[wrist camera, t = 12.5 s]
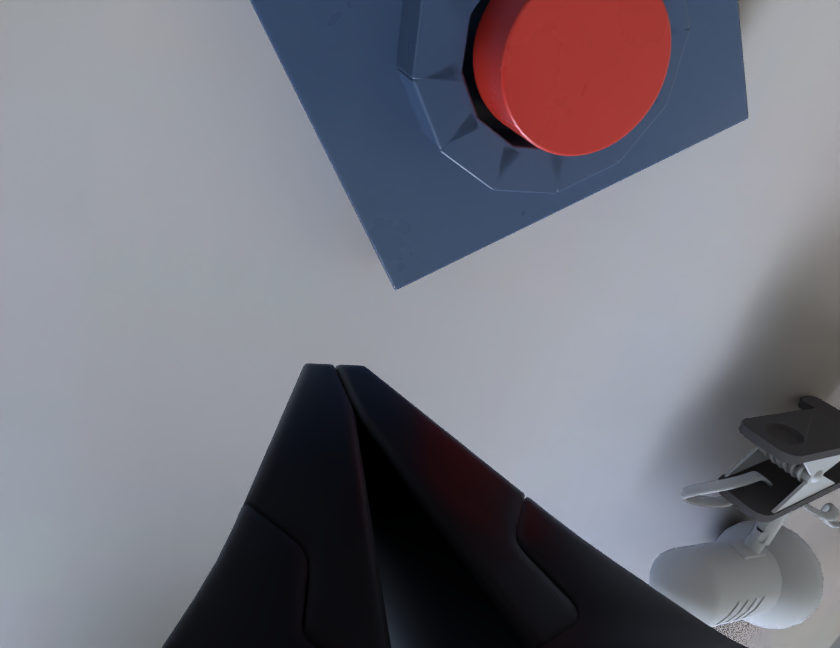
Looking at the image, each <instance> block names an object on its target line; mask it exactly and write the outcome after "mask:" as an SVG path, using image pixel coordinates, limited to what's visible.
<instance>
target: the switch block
mask: <svg viewBox="0 0 840 648" xmlns="http://www.w3.org/2000/svg"><path fill="white" fill-rule="evenodd" d="M250 1H251V3H252V5H253V7H254V9H255V11H256V13H257V15H258V17H259V19H260V21H261V23H262V25H263V27H264V29H265V31H266V33H267V35H268V37H269V39H270V41H271V43H272V45H273V47H274V49H275V51H276V53H277V55H278V57H279V59H280V61H281V63H282V65H283V67H284V69H285V71H286V73H287V75H288V77H289V79H290V81H291V83H292V85H293V87H294V89H295V91H296V93H297V95H298V97H299V99H300V101H301V103H302V105H303V107H304V109H305V111H306V113H307V115H308V117H309V119H310V121H311V123H312V125H313V127H314V129H315V131H316V133H317V135H318V137H319V139H320V141H321V143H322V145H323V147H324V149H325V151H326V153H327V155H328V157H329V159H330V161H331V163H332V165H333V167H334V169H335V171H336V173H337V175H338V177H339V179H340V181H341V183H342V185H343V187H344V189H345V191H346V193H347V195H348V197H349V199H350V201H351V203H352V205H353V207H354V209H355V211H356V213H357V215H358V217H359V219H360V221H361V223H362V225H363V227H364V229H365V231H366V233H367V235H368V237H369V239H370V241H371V243H372V245H373V247H374V249H375V251H376V253H377V255H378V257H379V259H380V261H381V263H382V265H383V267H384V269H385V271H386V273H387V275H388V277H389V279H390V281H391V283H392V285H393V287H394V289H395V290H397V289H399V288H401V287H403V286H405V285H407V284H409V283H412V282H414V281H416V280H418V279H420V278H422V277H424V276H426V275H428V274H430V273H432V272H434V271H436V270H438V269H440V268H442V267H444V266H446V265H448V264H450V263H453V262H455V261H457V260H459V259H461V258H463V257H465V256H467V255H469V254H471V253H473V252H475V251H477V250H479V249H481V248H483V247H485V246H487V245H489V244H491V243H494V242H496V241H498V240H500V239H502V238H504V237H506V236H508V235H510V234H512V233H514V232H516V231H518V230H520V229H522V228H524V227H526V226H528V225H530V224H532V223H534V222H537V221H539V220H541V219H543V218H545V217H547V216H549V215H551V214H553V213H555V212H557V211H559V210H561V209H563V208H565V207H567V206H569V205H571V204H573V203H575V202H578V201H580V200H582V199H584V198H586V197H588V196H590V195H592V194H594V193H596V192H598V191H600V190H602V189H604V188H606V187H608V186H610V185H612V184H614V183H616V182H619V181H621V180H623V179H625V178H627V177H629V176H631V175H633V174H635V173H637V172H639V171H641V170H643V169H645V168H647V167H649V166H651V165H653V164H655V163H657V162H660V161H662V160H664V159H666V158H668V157H670V156H672V155H674V154H676V153H678V152H680V151H682V150H684V149H686V148H688V147H690V146H692V145H694V144H696V143H698V142H700V141H703V140H705V139H707V138H709V137H711V136H713V135H715V134H717V133H719V132H721V131H723V130H725V129H727V128H729V127H731V126H733V125H735V124H737V123H739V122H741V121H744V120H746V119H747V118H748V106H747V95H746V84H745V73H744V62H743V51H742V40H741V29H740V18H739V6H738V0H663V2H664V4H665V7H666V10H667V12H668V16H669V21H670V26H671V37H672V38H671V55H670V62H669V66H668V70H667V74H666V77H665V80H664V83H663V86H662V88H661V90H660V92H659V94H658V96H657V98H656V100H655V102H654V103H653V105H652V107H651V108H650V110H649V111H648V112H647V114H646V115H645V116H644V118H643V119H642V120H641V121H640V122H639V123H638V124H637V126H636V127H635V128H634V129H632V130H631V131H630V132H629V133H628V134H627V135H626V136H624V137H623V138H621V139H620V140H619V141H617V142H616V143H614V144H612V145H610V146H608V147H606V148H604V149H602V150H599V151H597V152H593V153H590V154H586V155H579V156H562V155H555V154H552V153H549V152H545V151H543V150H541V149H539V148H537V147H536V146H534V145H533V144H531V143H530V142H528V141H527V140H526V139H524V138H523V137H521V136H520V135H518V134H517V133H516V132H514V131H513V130H511V129H510V128H508V127H507V126H506V125H504V124H503V123H501V122H500V121H499V120H498V119H497V118H496V117H494V116H493V115H492V113H491V112H490V111H489V110H488V108H487V107H486V105H485V104H484V102H483V100H482V98H481V96H480V94H479V91H478V89H477V85H476V82H475V78H474V71H473V47H474V40H475V36H476V31H477V28H478V25H479V22H480V19H481V17H482V15H483V13H484V10H485V8H486V6H487V5H488V3H489V2H490V0H250Z"/></svg>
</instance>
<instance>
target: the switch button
mask: <svg viewBox="0 0 840 648" xmlns="http://www.w3.org/2000/svg"><path fill="white" fill-rule="evenodd" d="M671 38H672V37H671V26H670V21H669V16H668V12H667V10H666V7H665V4H664V2H663V0H490V2H489V3H488V5H487V6H486V8H485V10H484V13H483V15H482V17H481V19H480V22H479V25H478V28H477V31H476V36H475V40H474V47H473V71H474V78H475V82H476V85H477V89H478V91H479V94H480V96H481V98H482V100H483V102H484V104H485V105H486V107H487V108H488V110H489V111H490V112H491V113H492V115H493V116H494V117H496V118H497V119H498V120H499V121H500V122H501V123H503V124H504V125H506V126H507V127H508V128H510V129H511V130H513V131H514V132H516V133H517V134H518V135H520V136H521V137H523V138H524V139H526V140H527V141H528V142H530V143H531V144H533V145H534V146H536V147H537V148H539V149H541V150H543V151H545V152H549V153H552V154H555V155H562V156H579V155H586V154H590V153H593V152H597V151H599V150H602V149H604V148H606V147H608V146H610V145H612V144H614V143H616V142H617V141H619V140H620V139H621V138H623V137H624V136H626V135H627V134H628V133H629V132H630V131H631V130H632V129H634V128H635V127H636V126H637V124H638V123H639V122H640V121H641V120H642V119H643V118H644V116H645V115H646V114H647V112H648V111H649V110H650V108H651V107H652V105H653V103H654V102H655V100H656V98H657V96H658V94H659V92H660V90H661V88H662V86H663V83H664V80H665V77H666V74H667V70H668V66H669V62H670V55H671Z"/></svg>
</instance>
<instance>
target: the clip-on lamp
mask: <svg viewBox="0 0 840 648" xmlns="http://www.w3.org/2000/svg"><path fill="white" fill-rule="evenodd" d="M798 407H799V408H800V409H802V410H800V411H793V412H786V413H779V414H773V415H766V416H759V417H752V418H746V419H744V420H743V421H742V423H741V425H740V427H739V431H740V433H741V434H742V435H743V436H744V437H745V438H747V439H748V440H750V441H751V442H753V443H754V444H756V447H755V448H754V449H753V450H752V451H750V452H749V453H748V454H747V455H746V456H745V457H744V458H743V459H742V460H740V461H739V462H738V463H737V464H736V465H735V466H734V467H733V468H732V469H730V470H729V471H728V472H727V473H726V474H724V475H722V476H721V477H720V478H719V479H718V480H716V481H711V482H705V483H700V484H695V485H691V486H687V487H685V488H683V489H682V492H681V494H682V500H683V501H685V502H687V503H690V504H694V505H698V506H704V507H715V508H721V507H727V506H730V505H732V504H733V505H734V506H735V507H737V508H738V509H739V510H740V511H742V512H743V513H744V514H745V515H747V516H748V517H750V518H752V519H753V520H752V521H743V522H740V523H738V524H735V525H733V526H731V527H729V528H727V529H726V530H725V531H724V532H723V533H722V534H721V535H720V536H719V537H718V538H717V539H716V541H715V542H710V543H704V544H698V545H691V546H685V547H678V548H673V549H670V550H668V551H665V552H663V553H661V554H660V555H659V556H658V557H657V558H656V560H655V561H654V563H653V565H652V568H651V570H650V576H649V585H650V586H651V587H653V588H654V589H655V590H657V591H658V592H660V593H661V594H663V595H664V596H666V597H667V598H669V599H670V600H672V601H673V602H675V603H676V604H678V605H679V606H680V607H682V608H683V609H685V610H686V611H688V612H689V613H691V614H692V615H694V616H695V617H697V618H698V619H700V620H701V621H703V622H704V623H706V624H707V625H708V626H710V627H714V626H718V625H723V624H727V623H731V622H735V621H739V620H744V621H746V622H749V623H751V624H754V625H756V626H759V627H762V628H775V629H783V628H787V627H791V626H794V625H797V624H800V623H802V622H803V621H804V620H806V619H807V618H808V617H809V616H810V615H811V614H812V613H813V612H815V610H816V609H817V606H818V604H819V602H820V600H821V598H822V595H823V580H824V578H823V574H822V570H821V566H820V562H819V561H818V559H817V557H816V555H815V554H814V552H813V550H812V549H811V547H810V546H809V545H808V544H807V543H806V542H805V541H804V540H803V539H802V538H801V537H800V536H799V535H798V534H796V533H795V532H793V531H791V530H789V529H788V528H786V527H784V526H783V523H784V522H785V520H786V519H787V517H788V516H789V514H790V513H791V511H793V510H795V509H797V508H799V507H802V508H804V509H805V510H807V511H808V512H810V513H812V514H813V515H815V516H817V517H819V518H821V520H822V521H823V522H824V523H826V524H827V525H829V526H831V527H834V528H840V522H837V521H834V520H836V519H838V517H839V514H840V513H839V509H838V508H837V507H836V506H834V505H833V504H831V503H827V504H825V505H824V506H823V507H822V509H821V511H820V510H818V509H816V508H814V507H813V506H811V505H810V504H808V503H810V502H812V501H814V500H816V499H818V498H820V497H822V496H824V495H826V494H828V493H830V492H832V491H834V490H836V489H838V488H840V410H838V409H836V408H835V407H833V406H831V405H830V404H828V403H826V402H824V401H823V400H821V399H819V398H817V397H814V396H807V397H802V398H801V399H800V401H799V403H798ZM715 492H719V493H720V494H721V495H722V496H719V497H705V496H699V495H704V494H710V493H715Z"/></svg>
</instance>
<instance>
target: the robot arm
mask: <svg viewBox="0 0 840 648" xmlns="http://www.w3.org/2000/svg"><path fill="white" fill-rule="evenodd" d="M524 497H525V495H524V493H523V492H521V491H520V490H519V489H518V488H516V487H515V486H514V485H513V484H511V483H510V482H509V481H508V480H506V479H505V478H504V477H503V476H501V475H500V474H499V473H498V472H496V471H495V470H494V469H493V468H491V467H490V466H489V465H488V464H486V463H485V462H484V461H483V460H481V459H480V458H479V457H478V456H476V455H475V454H474V453H473V452H471V451H470V450H469V449H468V448H466V447H465V446H464V445H463V444H461V443H460V442H459V441H458V440H456V439H455V438H454V437H453V436H451V435H450V434H449V433H448V432H446V431H445V430H444V429H443V428H441V427H440V426H439V425H438V424H436V423H435V422H434V421H433V420H431V419H430V418H429V417H428V416H426V415H425V414H424V413H423V412H421V411H420V410H419V409H418V408H416V407H415V406H414V405H413V404H411V403H410V402H409V401H408V400H406V399H405V398H404V397H403V396H401V395H400V394H399V393H398V392H396V391H395V390H394V389H393V388H391V387H390V386H389V385H388V384H386V383H385V382H384V381H383V380H381V379H380V378H379V377H378V376H376V375H375V374H374V373H373V372H371V371H370V370H369V369H368V368H366V367H365V366H359V365H338V366H336V368H335V367H334V366H333V365H331V364H311V363H309V364H305V365H304V367H303V369H302V371H301V373H300V376H299V378H298V380H297V383H296V385H295V387H294V389H293V392H292V394H291V396H290V399H289V401H288V403H287V406H286V408H285V410H284V412H283V415H282V417H281V419H280V422H279V424H278V426H277V429H276V431H275V433H274V436H273V438H272V440H271V442H270V445H269V447H268V449H267V452H266V454H265V456H264V459H263V461H262V463H261V465H260V468H259V470H258V472H257V475H256V477H255V479H254V482H253V484H252V486H251V489H250V491H249V493H248V495H247V498H246V500H245V502H244V505H243V507H242V508H241V511H240V513H239V515H238V517H237V520H236V522H235V524H234V527H233V529H232V531H231V533H230V535H229V537H228V539H227V541H226V543H225V545H224V547H223V549H222V551H221V553H220V555H219V557H218V559H217V561H216V563H215V565H214V566H213V568H212V570H211V571H210V573H209V575H208V576H207V578H206V580H205V581H204V583H203V585H202V586H201V588H200V590H199V591H198V593H197V595H196V596H195V598H194V600H193V601H192V603H191V604H190V606H189V607H188V609H187V610H186V612H185V613H184V615H183V616H182V618H181V619H180V621H179V622H178V624H177V626H176V627H175V629H174V630H173V632H172V633H171V635H170V636H169V638H168V639H167V641H166V642H165V644H164V645H163V647H162V648H747V647H745V646H743V645H741V644H739V643H737V642H735V641H733V640H731V639H729V638H727V637H726V636H724V635H723V634H721V633H719V632H718V631H716V630H715V629H713V628H711V627H710V626H708V625H707V624H706V623H704V622H703V621H701V620H700V619H698V618H697V617H695V616H694V615H692V614H691V613H689V612H688V611H686V610H685V609H683V608H682V607H680V606H679V605H678V604H676V603H675V602H673V601H672V600H670V599H669V598H667V597H666V596H664V595H663V594H661V593H660V592H658V591H657V590H655V589H654V588H653V587H651V586H650V585H648V584H647V583H645V582H644V581H642V580H641V579H639V578H638V577H636V576H635V575H633V574H632V573H630V572H629V571H627V570H626V569H625V568H623V567H622V566H620V565H619V564H617V563H616V562H614V561H613V560H612V559H610V558H609V557H607V556H606V555H604V554H603V553H602V552H600V551H599V550H597V549H596V548H594V547H593V546H592V545H590V544H589V543H587V542H586V541H585V540H583V539H582V538H580V537H579V536H578V535H577V534H575V533H574V532H573V531H571V530H570V529H569V528H567V527H566V526H565V525H563V524H562V523H561V522H560V521H558V520H557V519H556V518H554V517H553V516H552V515H550V514H549V513H548V512H547V511H545V510H544V509H543V508H542V507H540V506H539V505H538V504H537V503H535V502H534V501H533V500H532V499H530V498H529V497H526V498H525V499H524Z"/></svg>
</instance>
